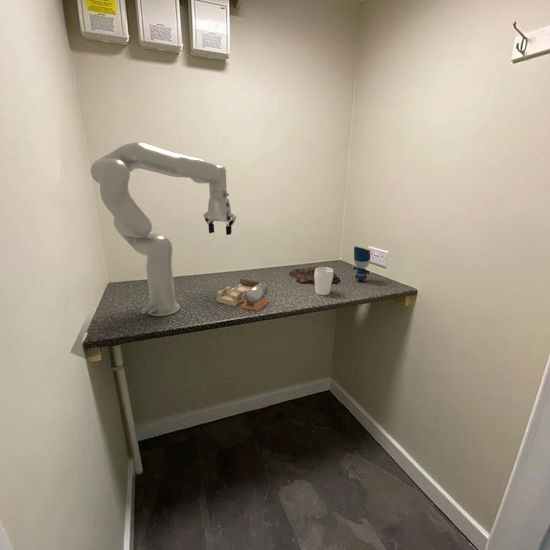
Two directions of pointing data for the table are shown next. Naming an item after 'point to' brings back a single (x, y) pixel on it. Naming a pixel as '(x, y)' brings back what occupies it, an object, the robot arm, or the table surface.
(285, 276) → the table surface
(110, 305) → the table surface
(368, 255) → the figurine
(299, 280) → the stone relief
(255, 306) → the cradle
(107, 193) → the robot arm
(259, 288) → the grey metal cylinder
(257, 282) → the beige elongated piece
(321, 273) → the cup
